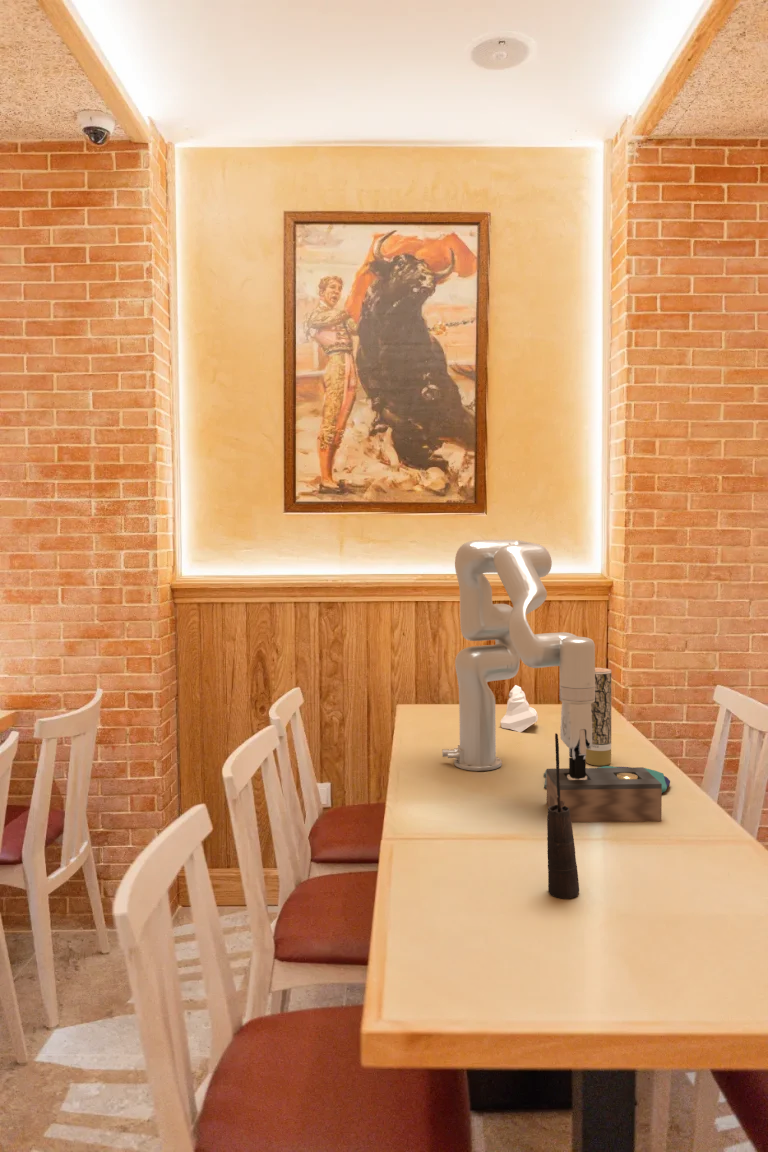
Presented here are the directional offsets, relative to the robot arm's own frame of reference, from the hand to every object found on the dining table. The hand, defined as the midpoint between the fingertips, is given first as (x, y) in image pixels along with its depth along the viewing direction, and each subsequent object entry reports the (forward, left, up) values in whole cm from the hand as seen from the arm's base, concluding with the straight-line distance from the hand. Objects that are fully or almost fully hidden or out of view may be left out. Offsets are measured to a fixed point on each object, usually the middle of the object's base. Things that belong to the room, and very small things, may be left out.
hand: (577, 776), depth 177 cm
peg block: (+5, 0, -8) cm, 10 cm away
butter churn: (-12, -38, -8) cm, 40 cm away
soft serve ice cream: (0, +77, -8) cm, 78 cm away
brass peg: (+11, 0, -8) cm, 14 cm away
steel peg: (0, 0, -8) cm, 8 cm away
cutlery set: (+12, +20, -9) cm, 25 cm away
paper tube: (+14, +37, -8) cm, 41 cm away
